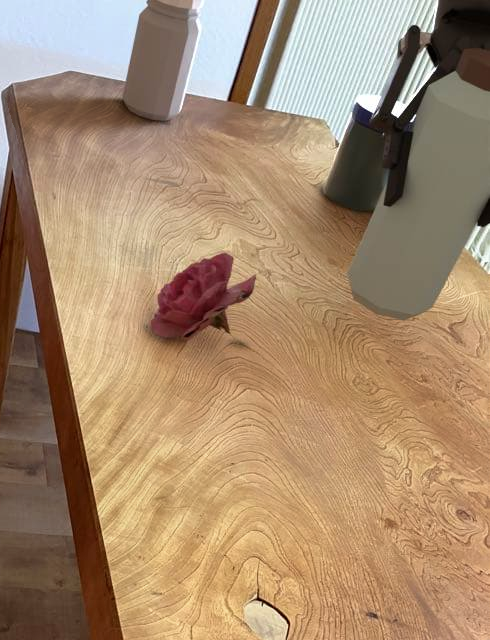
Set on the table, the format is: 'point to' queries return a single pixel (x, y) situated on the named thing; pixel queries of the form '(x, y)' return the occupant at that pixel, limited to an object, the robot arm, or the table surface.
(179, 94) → the jar
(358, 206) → the spice jar
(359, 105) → the lid
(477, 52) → the water bottle
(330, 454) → the table surface
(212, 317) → the flower
